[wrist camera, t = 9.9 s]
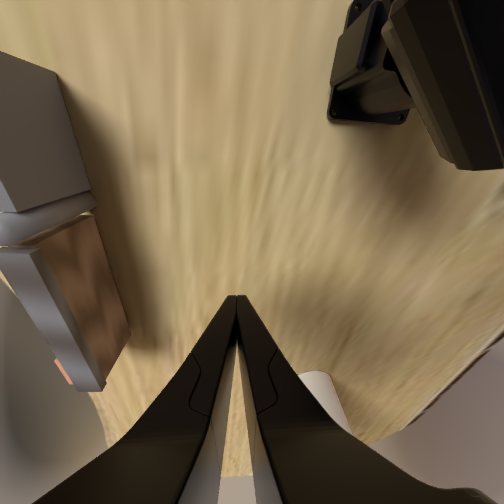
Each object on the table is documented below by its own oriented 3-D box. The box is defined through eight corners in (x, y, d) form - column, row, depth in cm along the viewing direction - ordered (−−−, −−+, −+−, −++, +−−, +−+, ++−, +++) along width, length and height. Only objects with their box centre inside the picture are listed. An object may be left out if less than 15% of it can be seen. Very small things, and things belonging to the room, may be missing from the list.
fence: (56, 72, 14) (-109, 8, 7) (136, 333, 27) (102, 395, 20) (-7, 65, 14) (-240, -8, 7) (105, 333, 27) (60, 397, 20)
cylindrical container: (322, 394, 38) (438, 744, 16) (286, 392, 36) (356, 765, 15) (336, 372, 34) (510, 777, 12) (297, 369, 33) (410, 807, 11)
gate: (70, 214, 18) (-13, 250, 12) (96, 215, 18) (27, 251, 12) (115, 334, 26) (78, 392, 20) (133, 334, 26) (102, 391, 20)
